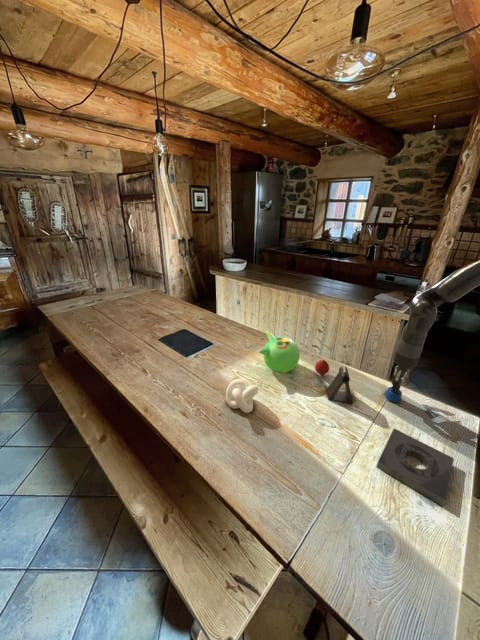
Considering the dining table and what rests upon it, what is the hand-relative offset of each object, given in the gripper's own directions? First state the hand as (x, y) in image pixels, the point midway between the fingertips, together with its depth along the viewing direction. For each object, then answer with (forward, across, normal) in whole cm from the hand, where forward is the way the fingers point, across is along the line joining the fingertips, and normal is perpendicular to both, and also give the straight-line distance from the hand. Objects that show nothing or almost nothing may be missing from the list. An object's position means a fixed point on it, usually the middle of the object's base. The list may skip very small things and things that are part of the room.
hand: (395, 390), depth 101 cm
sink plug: (+4, 0, 0) cm, 4 cm away
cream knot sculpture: (+4, -43, +41) cm, 59 cm away
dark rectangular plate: (+4, -26, -13) cm, 29 cm away
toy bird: (+4, -13, +44) cm, 46 cm away
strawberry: (+4, -5, +27) cm, 28 cm away
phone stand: (+4, -13, +16) cm, 21 cm away
